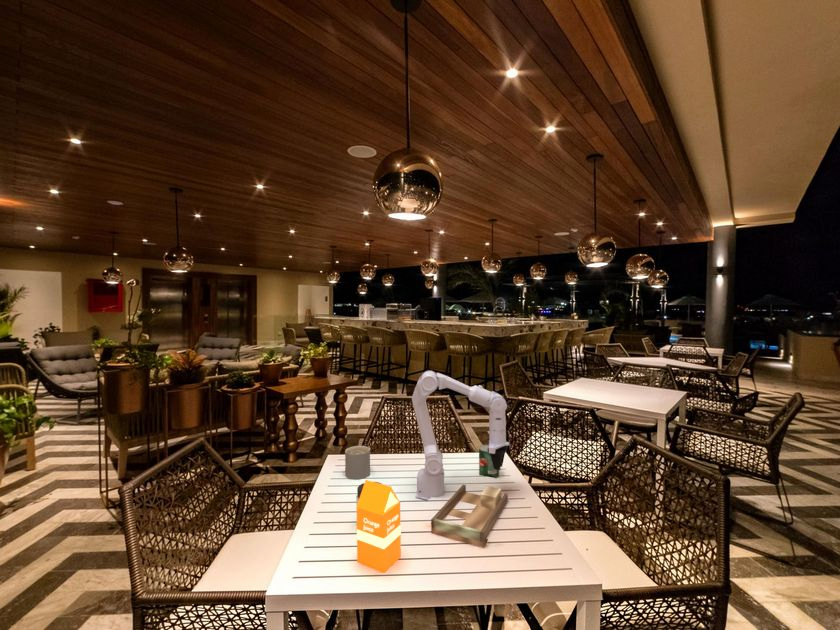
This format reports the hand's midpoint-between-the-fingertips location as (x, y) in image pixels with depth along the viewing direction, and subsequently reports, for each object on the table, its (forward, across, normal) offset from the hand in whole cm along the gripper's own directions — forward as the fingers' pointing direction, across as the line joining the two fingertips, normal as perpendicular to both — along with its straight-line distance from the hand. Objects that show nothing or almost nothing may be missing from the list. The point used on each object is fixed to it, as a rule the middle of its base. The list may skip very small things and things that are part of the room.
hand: (498, 467), depth 132 cm
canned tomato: (+11, +16, +8) cm, 21 cm away
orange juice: (+11, -48, +18) cm, 52 cm away
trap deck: (+10, -18, +4) cm, 21 cm away
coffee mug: (+11, -4, +56) cm, 58 cm away
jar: (+11, -36, +30) cm, 47 cm away
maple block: (+9, -8, 0) cm, 12 cm away
